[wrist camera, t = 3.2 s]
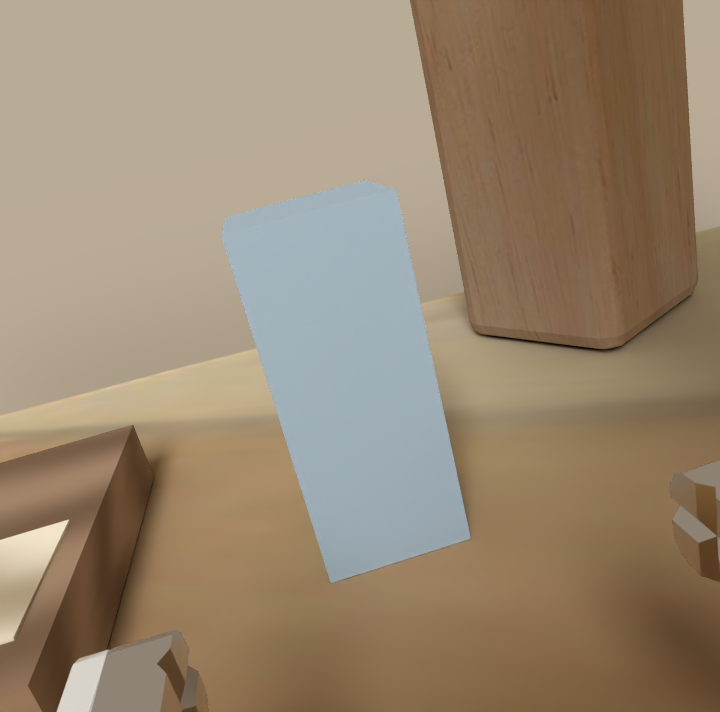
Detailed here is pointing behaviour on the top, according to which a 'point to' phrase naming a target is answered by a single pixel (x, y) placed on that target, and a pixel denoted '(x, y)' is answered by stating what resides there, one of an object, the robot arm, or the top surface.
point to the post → (350, 373)
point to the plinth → (64, 559)
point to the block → (564, 161)
